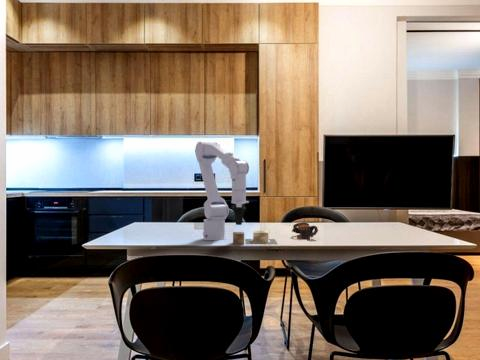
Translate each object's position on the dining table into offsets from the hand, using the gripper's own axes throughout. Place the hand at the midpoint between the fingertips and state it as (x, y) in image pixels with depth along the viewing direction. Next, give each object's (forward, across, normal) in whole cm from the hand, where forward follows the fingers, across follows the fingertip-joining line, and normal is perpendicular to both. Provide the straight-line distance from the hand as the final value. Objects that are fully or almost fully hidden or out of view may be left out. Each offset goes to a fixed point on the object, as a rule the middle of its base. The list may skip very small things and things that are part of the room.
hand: (238, 223), depth 170 cm
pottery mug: (+9, +17, -30) cm, 36 cm away
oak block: (+8, +6, -10) cm, 14 cm away
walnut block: (+9, 0, 0) cm, 9 cm away
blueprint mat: (+9, +5, -10) cm, 14 cm away
